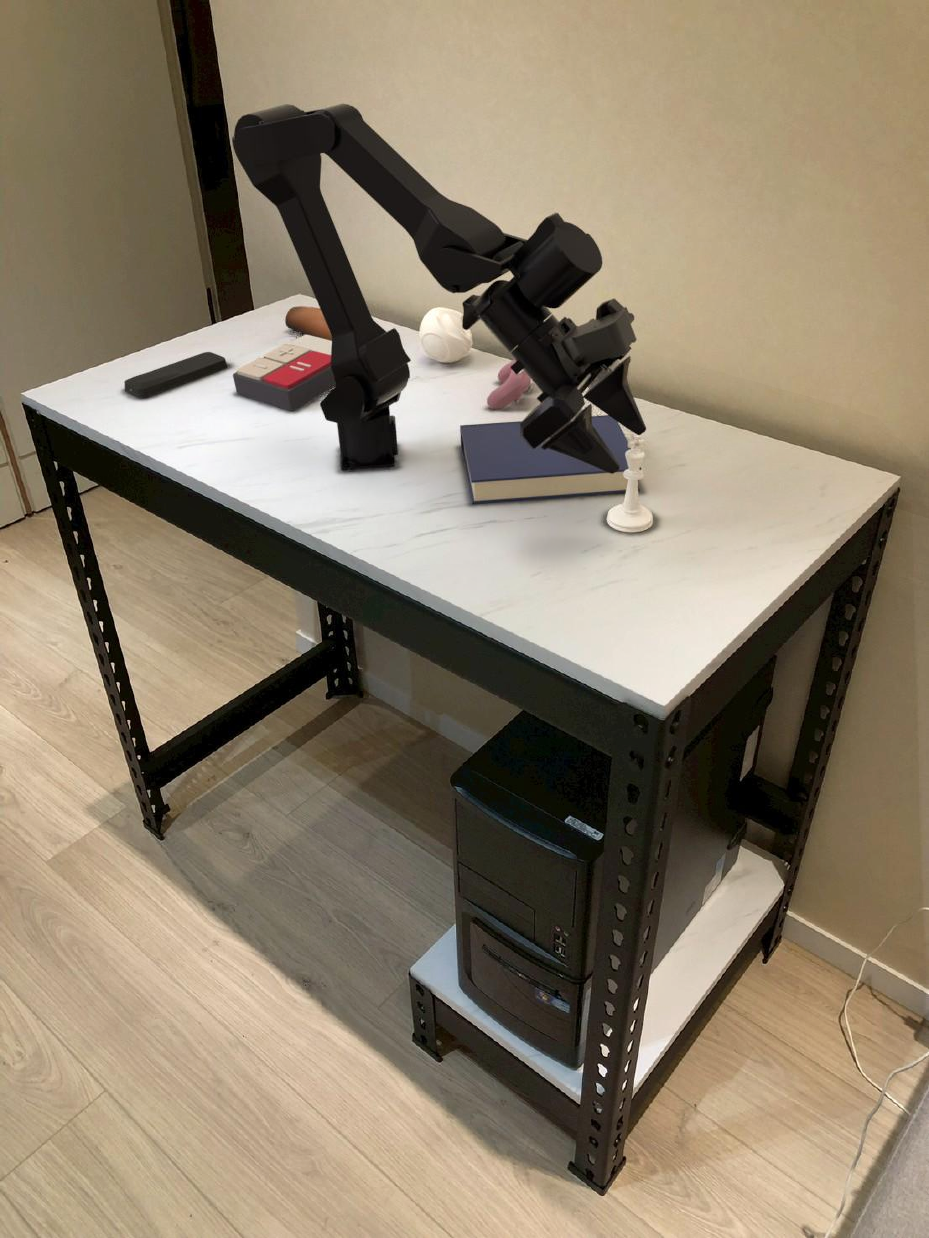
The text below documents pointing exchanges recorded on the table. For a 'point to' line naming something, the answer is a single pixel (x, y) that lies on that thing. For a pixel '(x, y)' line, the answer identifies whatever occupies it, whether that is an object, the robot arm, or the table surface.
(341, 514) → the table surface
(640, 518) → the chess piece
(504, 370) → the video game controller
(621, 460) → the blue book
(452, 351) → the white ball
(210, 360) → the remote control
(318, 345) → the calculator
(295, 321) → the sunglasses case
